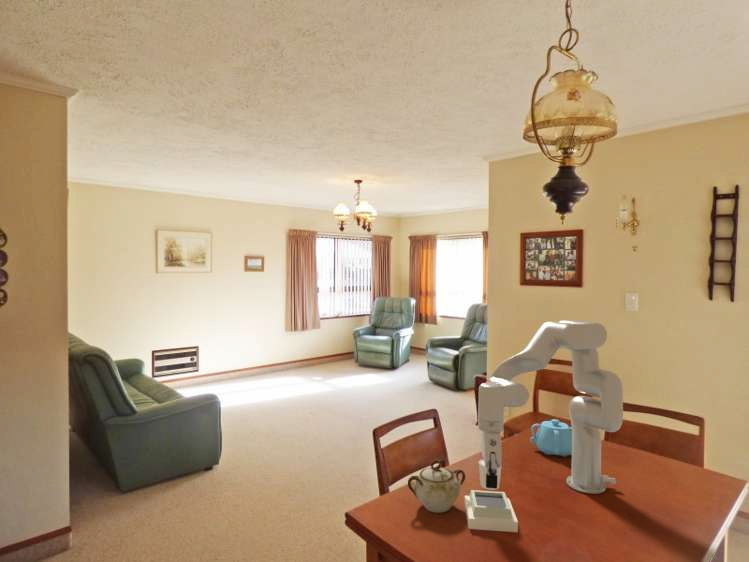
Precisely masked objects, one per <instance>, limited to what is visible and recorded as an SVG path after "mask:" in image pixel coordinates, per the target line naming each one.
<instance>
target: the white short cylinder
mask: <svg viewBox="0 0 749 562" xmlns="http://www.w3.org/2000/svg"><path fill="white" fill-rule="evenodd" d="M489 464H491V462H489ZM490 468H491V466H489V469H490ZM478 469H479V470H478V471H479V483H480V484H479V485H480V486H481V488H483V489H486V490H488V491H493V490H494V491H495V490H498V489H499V488H500V484H501V483H500V482H501V475H502V474H501V473H502V471H501V470H502V465H501V466H499V465H498V464H497V488H487V487H486V474H487V465H486V464H485V462H484V459H483V458H481V459H480V460H479V461H478Z"/></svg>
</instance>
